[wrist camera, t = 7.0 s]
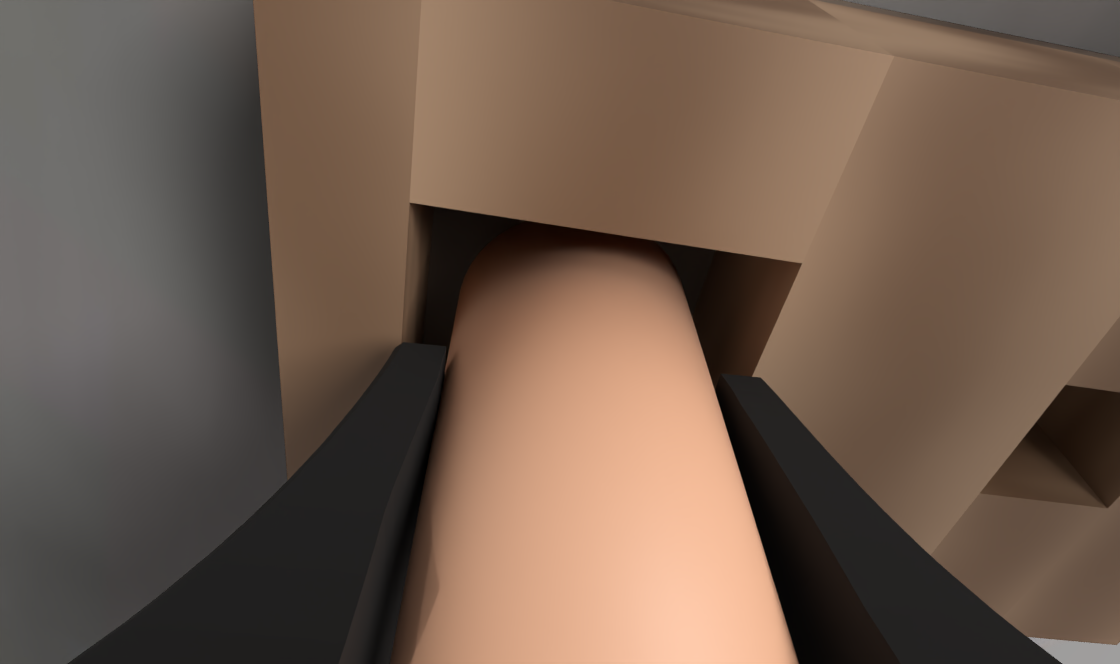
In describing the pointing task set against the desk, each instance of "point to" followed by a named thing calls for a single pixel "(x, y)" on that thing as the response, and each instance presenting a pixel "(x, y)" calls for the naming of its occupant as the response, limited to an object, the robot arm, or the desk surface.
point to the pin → (583, 474)
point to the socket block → (745, 234)
